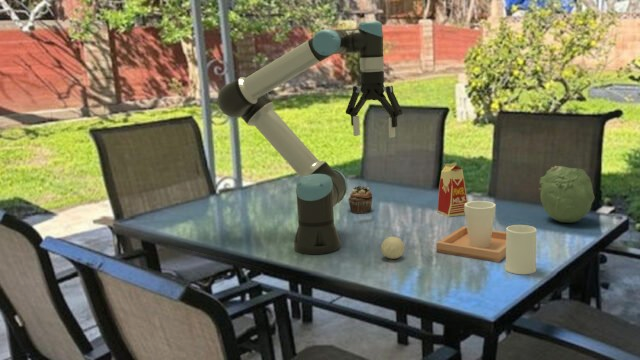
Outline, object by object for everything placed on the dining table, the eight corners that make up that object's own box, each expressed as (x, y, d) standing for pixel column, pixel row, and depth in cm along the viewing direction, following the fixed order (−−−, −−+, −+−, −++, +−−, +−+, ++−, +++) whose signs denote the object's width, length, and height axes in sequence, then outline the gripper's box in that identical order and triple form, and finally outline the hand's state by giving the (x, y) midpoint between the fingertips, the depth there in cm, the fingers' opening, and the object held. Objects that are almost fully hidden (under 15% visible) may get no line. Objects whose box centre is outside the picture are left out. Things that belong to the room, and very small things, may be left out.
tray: (498, 262, 184) (498, 252, 184) (436, 251, 196) (436, 242, 195) (521, 243, 200) (522, 234, 199) (463, 234, 212) (463, 226, 211)
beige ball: (376, 259, 192) (375, 238, 191) (391, 252, 197) (390, 232, 196) (393, 263, 188) (393, 242, 186) (408, 257, 193) (408, 236, 191)
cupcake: (375, 207, 252) (374, 183, 250) (370, 214, 243) (369, 189, 241) (351, 207, 254) (350, 183, 252) (346, 213, 245) (345, 188, 243)
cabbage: (584, 231, 209) (587, 172, 204) (529, 222, 221) (531, 167, 217) (601, 220, 220) (603, 164, 216) (548, 212, 233) (549, 159, 228)
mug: (520, 259, 186) (521, 220, 184) (547, 265, 180) (548, 225, 178) (499, 270, 178) (499, 229, 176) (526, 277, 172) (527, 235, 170)
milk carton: (469, 213, 237) (469, 161, 232) (448, 217, 233) (448, 164, 229) (456, 208, 245) (455, 158, 241) (435, 211, 242) (435, 160, 237)
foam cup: (492, 239, 202) (493, 200, 199) (497, 249, 193) (498, 208, 190) (462, 240, 203) (462, 201, 200) (466, 249, 194) (466, 208, 191)
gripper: (412, 69, 197) (413, 136, 202) (346, 70, 212) (348, 133, 216) (400, 71, 191) (402, 139, 196) (333, 72, 206) (336, 136, 210)
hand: (374, 136), depth 206 cm, fingers open, 13 cm apart
